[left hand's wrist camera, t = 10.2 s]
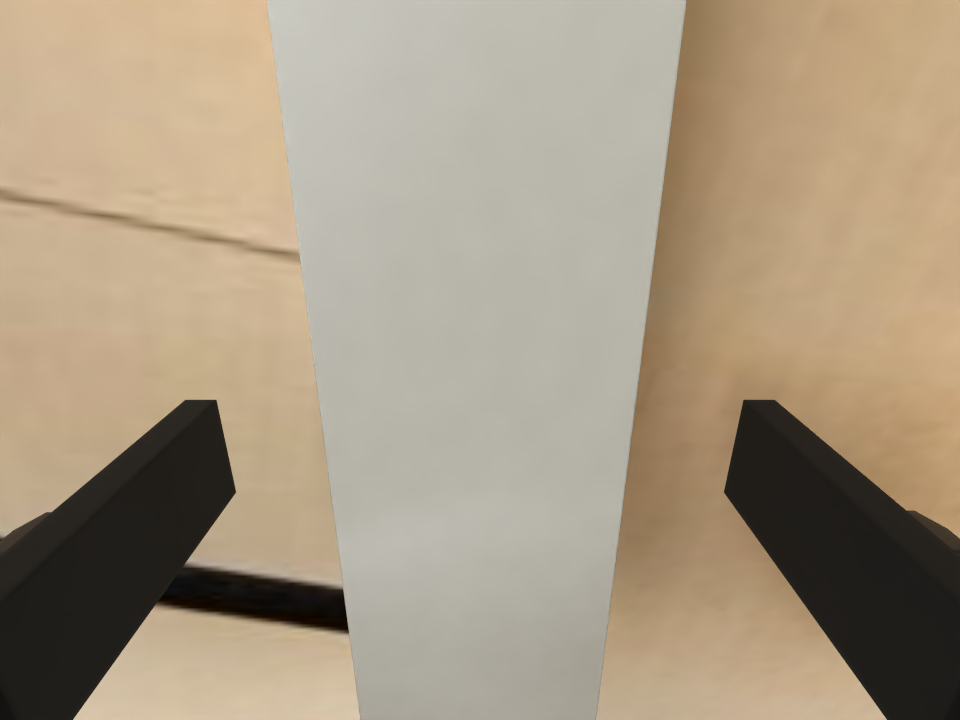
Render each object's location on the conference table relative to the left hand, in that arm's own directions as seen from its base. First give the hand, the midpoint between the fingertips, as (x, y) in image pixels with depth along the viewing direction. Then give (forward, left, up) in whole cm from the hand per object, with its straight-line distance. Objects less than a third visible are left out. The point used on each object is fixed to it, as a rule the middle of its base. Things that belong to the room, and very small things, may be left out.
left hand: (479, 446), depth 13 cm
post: (+16, +17, -4) cm, 24 cm away
